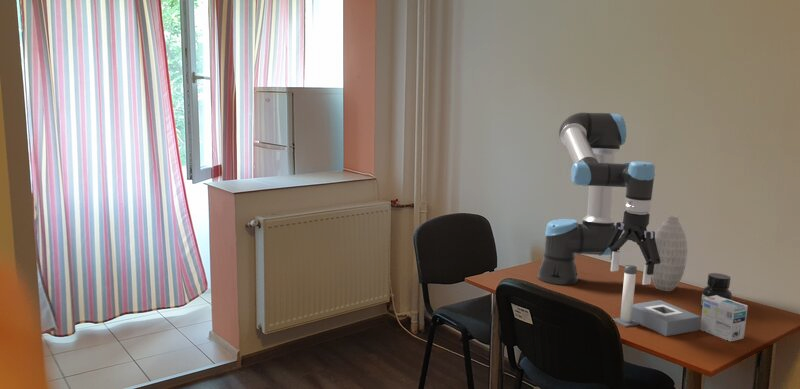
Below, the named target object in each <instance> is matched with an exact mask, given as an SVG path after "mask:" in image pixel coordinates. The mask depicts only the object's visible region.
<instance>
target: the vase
mask: <svg viewBox="0 0 800 389" xmlns="http://www.w3.org/2000/svg"><path fill="white" fill-rule="evenodd" d="M655 241H656V245H657V249H658V253H659V257H660V261H661V263H660V264H655V265H654V271H653V275H651V281H652V283H653V284H654V286H655V288H656V289H657V290H660V291H662V292H672V291H674V289H675V288H677V286H678V285H679V283H680V282H681V280H682V277H683V275H684V272H685V269H686V266H687V260H688V259H687V258H688V242H687V237H686V233H685V231H684V229H683V227H682V224H681V223H680V220H679V216H678V215H674V214H667V215H666V218H665V220H664V221H663V222H662V223H661V225H660V226H659V227H658V228H657V230H656V232H655Z"/></svg>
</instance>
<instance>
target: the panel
mask: <svg viewBox="0 0 800 389" xmlns="http://www.w3.org/2000/svg"><path fill="white" fill-rule="evenodd" d="M701 317H702V316H700V315H698V314H695V313H693V312H691V311H688V310H685V309H683V308H681V307H678V306H675V305H673V304H671V303H668V302H666V301H664V300H662V299H660V300H659V299H658V300H652V301H646V302H645V301H643V302H638V303H633V310H632V320H634V321H637V322H639V323H640V325H641V326H643V327H646V328H648V329H649V330H652V331H654V332H656V333H658V334H660V335H663V336H664V337H669V336H675V335H680V334H686V333H691V332H697V331H699V330H700V325H701Z"/></svg>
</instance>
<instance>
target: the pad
mask: <svg viewBox="0 0 800 389" xmlns="http://www.w3.org/2000/svg"><path fill="white" fill-rule="evenodd" d="M612 319H613V320H614V321H615V323H616V324H618V325H620V326H623V327H624V328H627V327H633V326H639V325H641V324H640V323H639V322H637V321H634V320H631V323H624V322H621V321H620V317H615V318H612ZM614 321H613V322H614Z"/></svg>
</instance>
